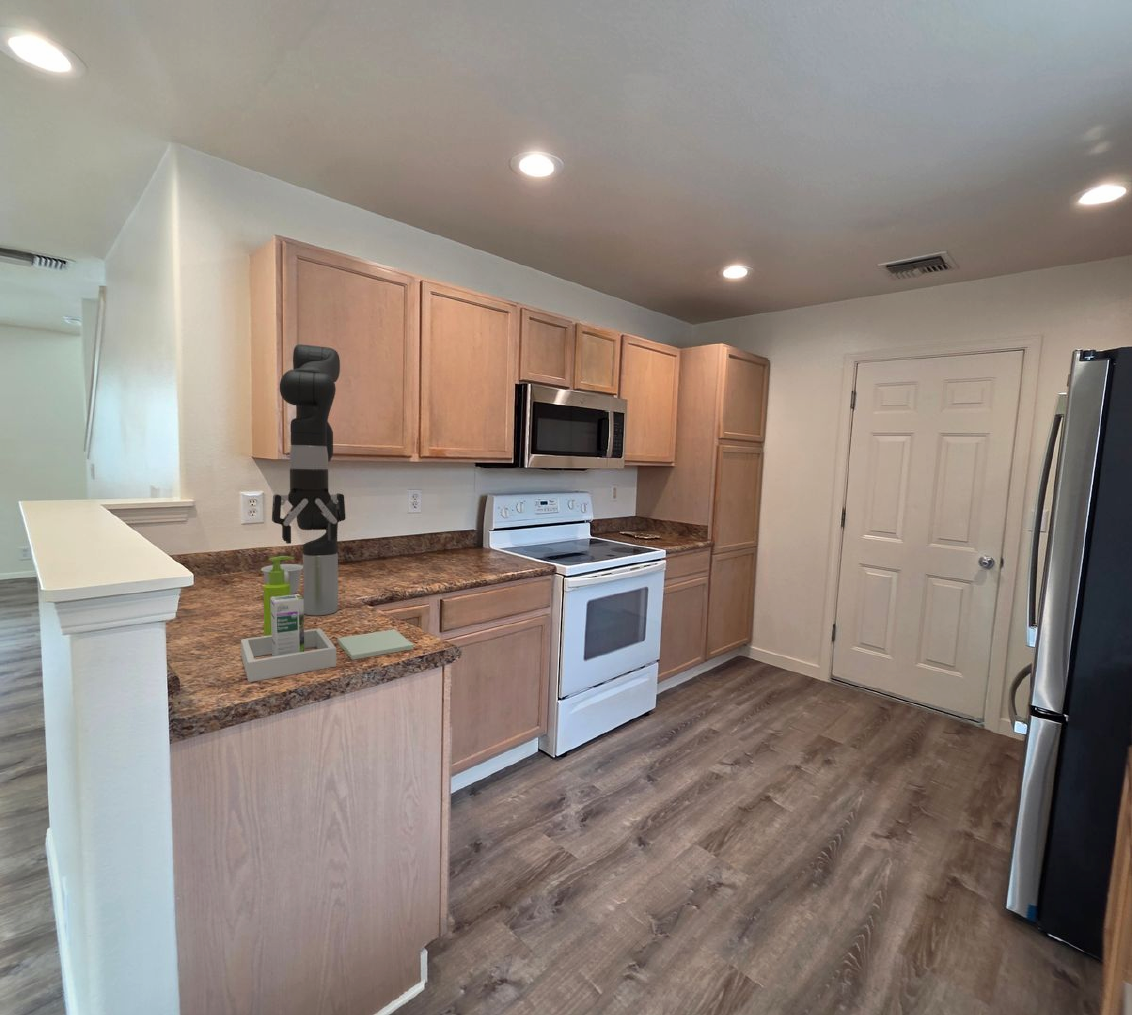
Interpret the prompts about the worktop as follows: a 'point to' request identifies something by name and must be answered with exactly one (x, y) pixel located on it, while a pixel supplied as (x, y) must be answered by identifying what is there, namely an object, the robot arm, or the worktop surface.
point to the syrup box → (287, 624)
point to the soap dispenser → (274, 590)
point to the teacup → (287, 575)
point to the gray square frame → (287, 656)
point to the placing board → (374, 644)
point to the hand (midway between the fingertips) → (310, 541)
